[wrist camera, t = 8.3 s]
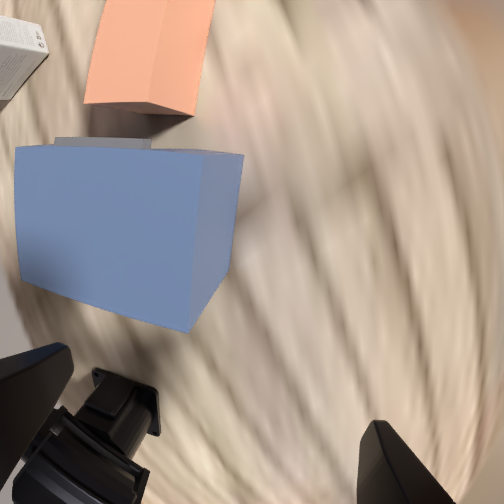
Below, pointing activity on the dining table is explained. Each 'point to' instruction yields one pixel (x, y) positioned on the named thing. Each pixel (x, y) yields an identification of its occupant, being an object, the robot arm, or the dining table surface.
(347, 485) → the dining table surface
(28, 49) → the skincare box
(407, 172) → the dining table surface
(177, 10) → the salmon pink prism
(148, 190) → the block
